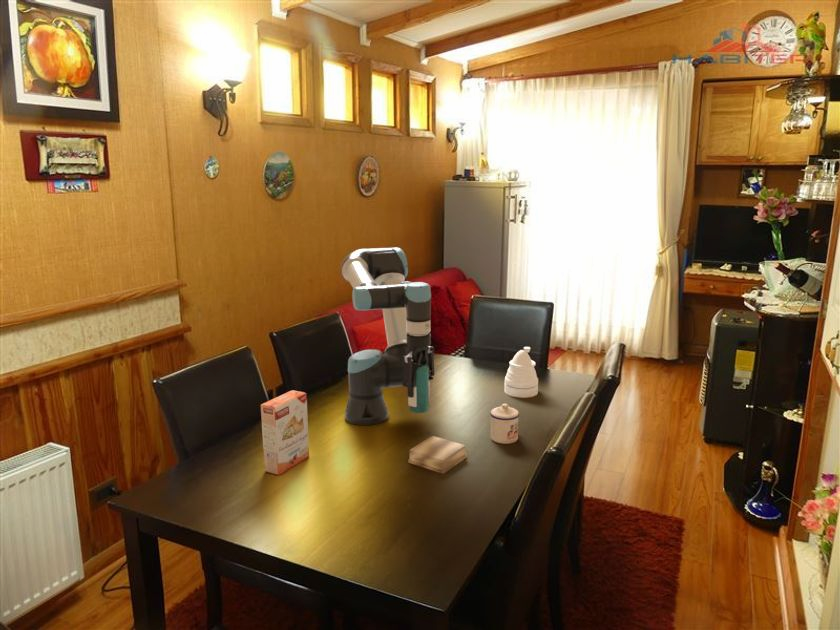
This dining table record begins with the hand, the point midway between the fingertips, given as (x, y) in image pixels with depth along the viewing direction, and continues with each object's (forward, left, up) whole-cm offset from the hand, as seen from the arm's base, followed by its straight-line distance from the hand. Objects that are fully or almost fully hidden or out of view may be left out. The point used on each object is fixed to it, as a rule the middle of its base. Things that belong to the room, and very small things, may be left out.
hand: (419, 402), depth 199 cm
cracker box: (-22, -37, -13) cm, 44 cm away
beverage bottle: (0, 0, -4) cm, 4 cm away
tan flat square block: (+13, -9, -12) cm, 20 cm away
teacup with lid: (+22, +17, -13) cm, 31 cm away
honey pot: (+7, +57, -13) cm, 59 cm away
